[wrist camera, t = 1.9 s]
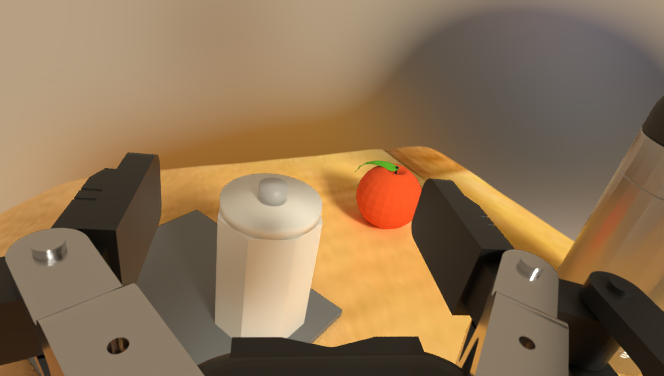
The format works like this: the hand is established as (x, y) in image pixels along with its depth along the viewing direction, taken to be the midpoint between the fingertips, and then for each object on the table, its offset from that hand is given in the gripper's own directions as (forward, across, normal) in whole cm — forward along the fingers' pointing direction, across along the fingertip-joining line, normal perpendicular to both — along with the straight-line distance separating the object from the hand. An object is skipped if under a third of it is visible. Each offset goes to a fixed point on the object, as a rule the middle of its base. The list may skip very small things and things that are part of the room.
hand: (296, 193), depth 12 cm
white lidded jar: (+11, 0, +17) cm, 21 cm away
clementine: (+25, -13, +18) cm, 33 cm away
